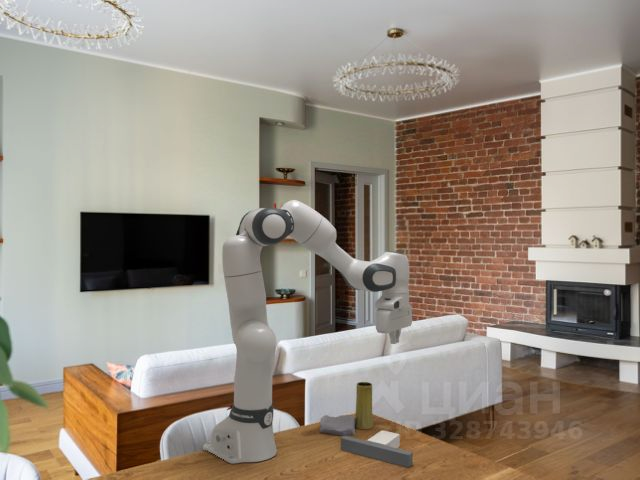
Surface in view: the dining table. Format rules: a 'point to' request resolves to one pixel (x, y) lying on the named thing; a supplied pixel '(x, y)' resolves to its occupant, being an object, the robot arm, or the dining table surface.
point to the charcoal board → (377, 451)
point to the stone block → (338, 425)
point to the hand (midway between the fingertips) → (394, 343)
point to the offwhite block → (386, 439)
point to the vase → (364, 406)
